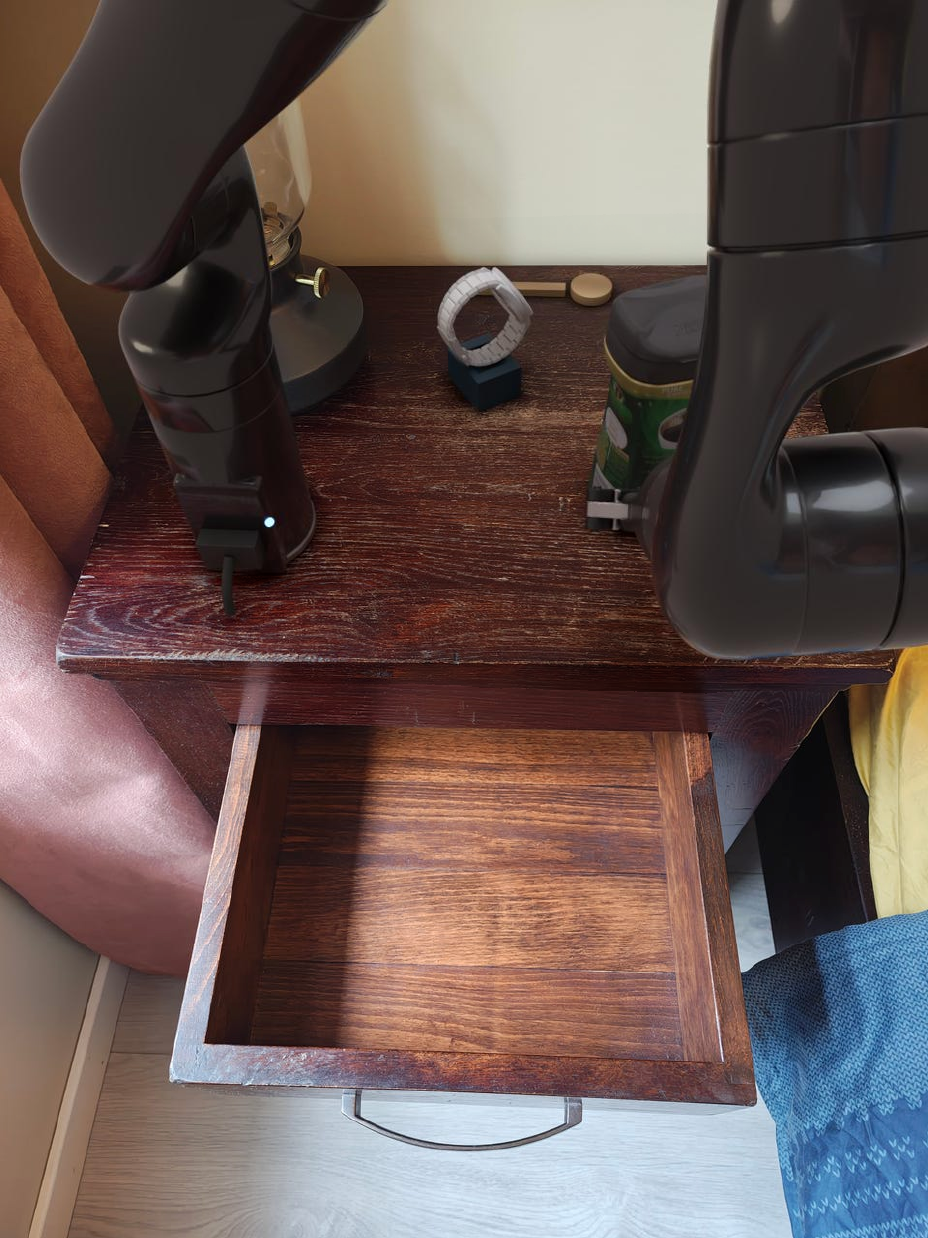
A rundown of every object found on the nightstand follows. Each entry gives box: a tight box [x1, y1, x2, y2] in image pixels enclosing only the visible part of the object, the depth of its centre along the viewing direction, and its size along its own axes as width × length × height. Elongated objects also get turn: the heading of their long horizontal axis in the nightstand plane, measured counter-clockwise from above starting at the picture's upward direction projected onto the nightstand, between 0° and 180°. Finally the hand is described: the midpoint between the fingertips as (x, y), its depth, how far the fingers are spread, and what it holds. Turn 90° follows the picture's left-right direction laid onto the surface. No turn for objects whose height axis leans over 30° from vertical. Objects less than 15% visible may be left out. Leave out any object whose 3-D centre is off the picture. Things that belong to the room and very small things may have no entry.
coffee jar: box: [589, 274, 707, 533], centre depth 66 cm, size 10×8×19 cm
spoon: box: [475, 272, 613, 307], centre depth 89 cm, size 4×14×1 cm, turn 86°
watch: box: [436, 266, 534, 413], centre depth 77 cm, size 6×8×11 cm
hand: (668, 506), depth 63 cm, fingers closed
